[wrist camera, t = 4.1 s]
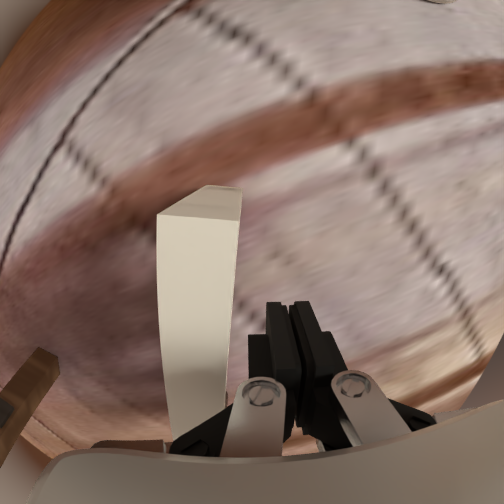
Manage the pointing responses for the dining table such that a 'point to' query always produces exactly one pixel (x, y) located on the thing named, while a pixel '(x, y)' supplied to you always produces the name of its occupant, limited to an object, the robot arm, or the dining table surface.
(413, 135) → the dining table surface
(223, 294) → the gate
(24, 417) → the post
